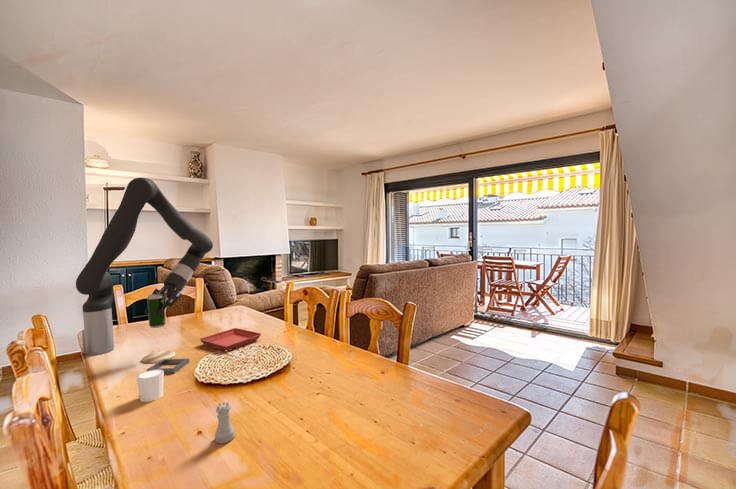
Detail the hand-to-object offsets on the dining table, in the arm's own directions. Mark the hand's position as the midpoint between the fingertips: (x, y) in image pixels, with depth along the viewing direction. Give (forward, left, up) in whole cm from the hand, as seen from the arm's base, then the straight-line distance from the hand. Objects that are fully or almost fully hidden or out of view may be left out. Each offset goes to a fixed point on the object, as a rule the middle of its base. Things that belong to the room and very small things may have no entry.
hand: (152, 313), depth 132 cm
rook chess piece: (+50, -49, -18) cm, 72 cm away
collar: (+11, -8, -17) cm, 22 cm away
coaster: (+1, +2, -17) cm, 17 cm away
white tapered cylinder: (+19, -29, -18) cm, 39 cm away
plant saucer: (+22, +18, -18) cm, 33 cm away
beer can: (+1, +2, -5) cm, 6 cm away
